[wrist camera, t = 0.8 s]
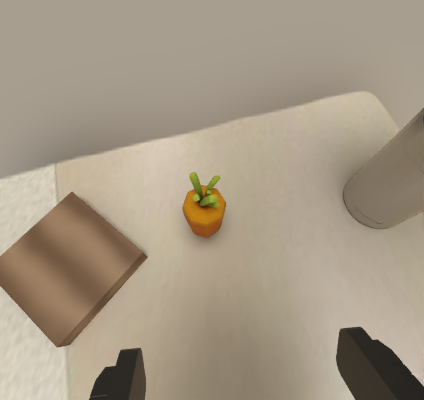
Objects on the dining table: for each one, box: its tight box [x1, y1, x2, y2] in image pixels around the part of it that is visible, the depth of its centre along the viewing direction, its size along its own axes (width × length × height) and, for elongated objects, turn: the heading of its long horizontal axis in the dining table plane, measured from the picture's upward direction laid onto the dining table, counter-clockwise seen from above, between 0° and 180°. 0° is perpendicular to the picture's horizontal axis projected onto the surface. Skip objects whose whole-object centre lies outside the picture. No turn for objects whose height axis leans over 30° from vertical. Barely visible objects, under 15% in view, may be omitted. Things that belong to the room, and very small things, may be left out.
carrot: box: [183, 172, 226, 237], centre depth 33 cm, size 5×5×15 cm
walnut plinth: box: [0, 192, 147, 347], centre depth 37 cm, size 14×14×3 cm
